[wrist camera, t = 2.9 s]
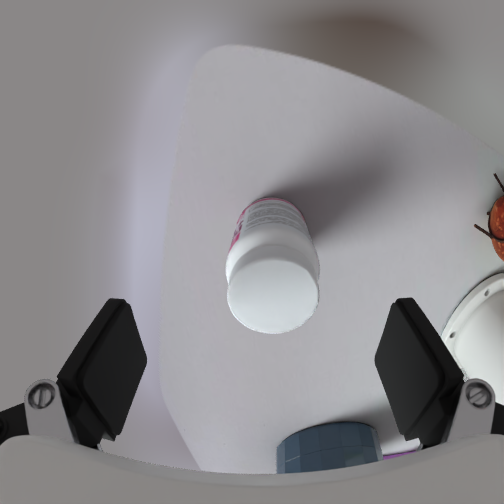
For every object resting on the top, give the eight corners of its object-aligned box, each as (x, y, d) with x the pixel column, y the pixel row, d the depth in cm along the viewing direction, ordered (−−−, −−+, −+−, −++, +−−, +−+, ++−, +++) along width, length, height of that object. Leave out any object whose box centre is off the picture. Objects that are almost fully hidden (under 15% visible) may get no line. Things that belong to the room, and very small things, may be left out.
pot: (390, 413, 29) (403, 459, 22) (360, 457, 35) (366, 493, 28) (279, 424, 30) (280, 476, 23) (273, 465, 36) (273, 503, 29)
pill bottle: (230, 202, 19) (205, 257, 11) (301, 191, 18) (326, 239, 11) (243, 265, 21) (231, 345, 13) (308, 255, 20) (331, 333, 13)
